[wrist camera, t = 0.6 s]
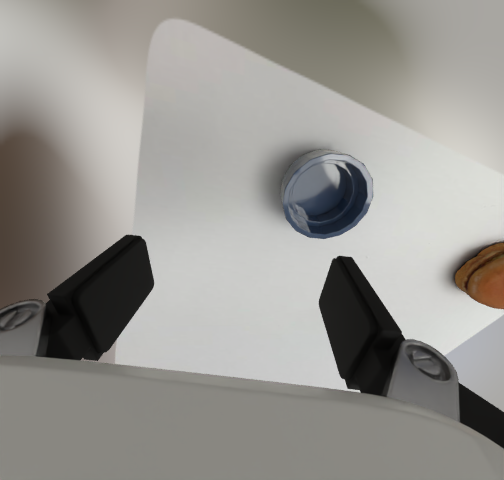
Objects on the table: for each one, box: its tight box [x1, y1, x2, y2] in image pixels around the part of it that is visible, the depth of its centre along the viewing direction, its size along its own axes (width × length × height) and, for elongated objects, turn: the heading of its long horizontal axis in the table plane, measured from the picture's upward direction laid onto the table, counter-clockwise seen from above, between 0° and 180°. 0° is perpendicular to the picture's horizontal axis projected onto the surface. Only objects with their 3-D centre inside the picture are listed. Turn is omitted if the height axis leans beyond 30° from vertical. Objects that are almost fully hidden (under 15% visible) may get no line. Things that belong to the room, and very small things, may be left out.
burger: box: [455, 243, 504, 309], centre depth 28 cm, size 10×9×5 cm
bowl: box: [280, 149, 373, 239], centre depth 23 cm, size 9×9×5 cm
